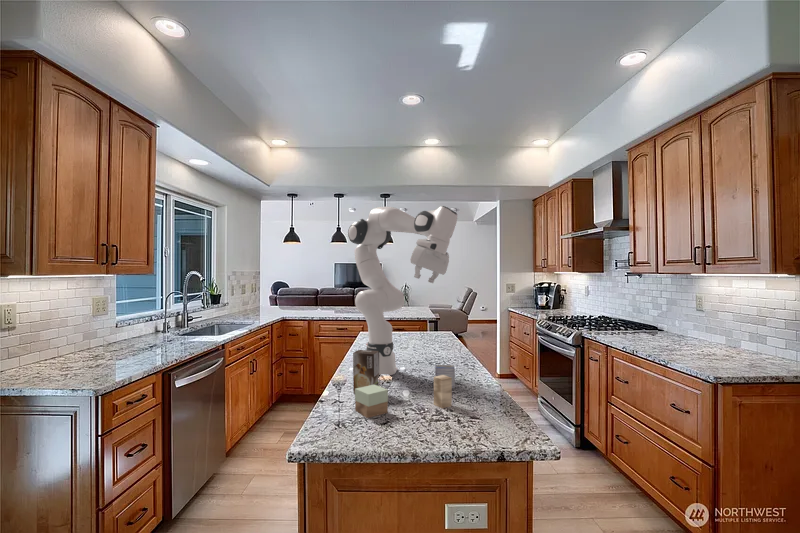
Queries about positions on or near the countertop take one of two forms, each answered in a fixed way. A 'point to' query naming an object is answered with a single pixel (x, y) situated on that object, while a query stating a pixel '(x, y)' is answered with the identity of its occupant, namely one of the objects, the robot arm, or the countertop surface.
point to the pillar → (442, 391)
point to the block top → (371, 395)
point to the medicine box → (446, 372)
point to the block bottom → (371, 409)
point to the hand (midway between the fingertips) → (423, 280)
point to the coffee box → (365, 368)
